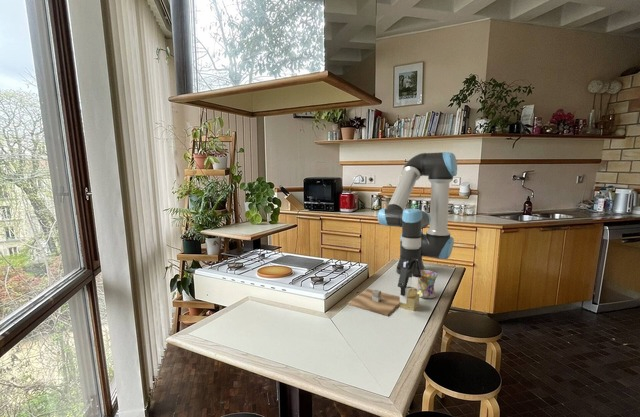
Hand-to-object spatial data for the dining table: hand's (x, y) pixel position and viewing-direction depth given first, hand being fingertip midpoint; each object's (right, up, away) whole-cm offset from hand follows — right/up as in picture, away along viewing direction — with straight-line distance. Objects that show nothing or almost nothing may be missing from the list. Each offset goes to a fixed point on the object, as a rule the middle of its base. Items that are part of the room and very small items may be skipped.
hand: (409, 297), depth 128 cm
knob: (0, -4, +1) cm, 4 cm away
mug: (+10, -3, +12) cm, 16 cm away
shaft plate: (-13, -4, +5) cm, 14 cm away
